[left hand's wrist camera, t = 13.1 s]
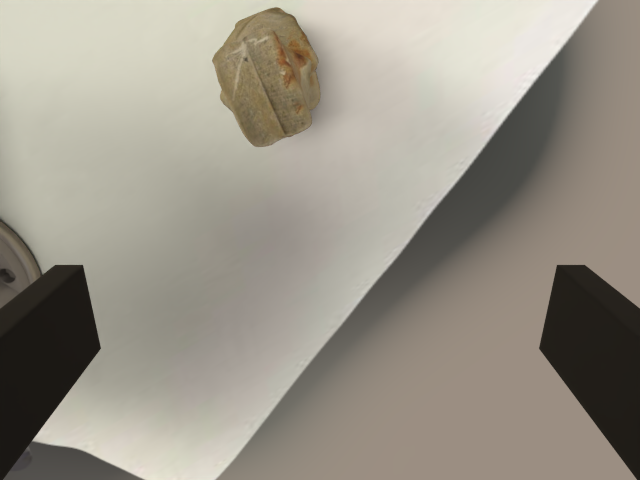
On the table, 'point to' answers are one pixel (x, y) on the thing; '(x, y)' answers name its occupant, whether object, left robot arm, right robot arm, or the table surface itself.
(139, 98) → the table surface
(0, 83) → the table surface
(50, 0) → the table surface
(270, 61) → the sculpture
